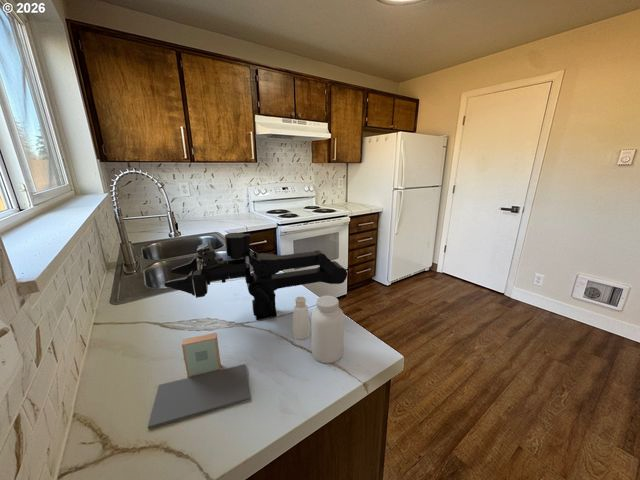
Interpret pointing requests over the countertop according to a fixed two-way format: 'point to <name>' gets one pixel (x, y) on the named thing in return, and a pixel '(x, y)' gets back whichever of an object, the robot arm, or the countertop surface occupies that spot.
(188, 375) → the tile
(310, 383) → the countertop surface
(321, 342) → the pill bottle
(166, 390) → the mat
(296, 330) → the pepper shaker
